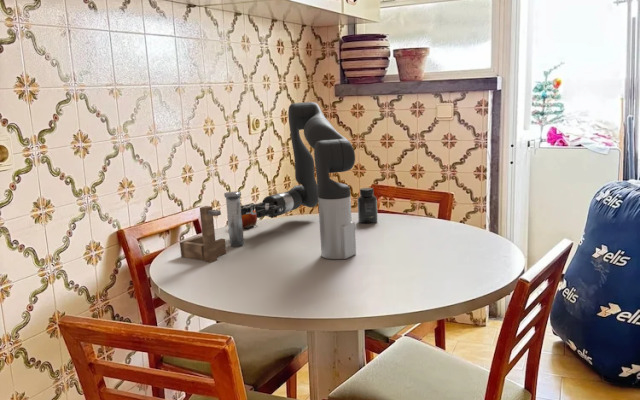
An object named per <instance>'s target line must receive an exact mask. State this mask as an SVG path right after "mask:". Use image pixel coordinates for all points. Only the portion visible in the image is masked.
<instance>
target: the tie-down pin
mask: <svg viewBox="0 0 640 400" xmlns="http://www.w3.org/2000/svg"><path fill="white" fill-rule="evenodd" d="M223 196H224V198H225V202H226V203H225V204H226V213H227V224H228V236H229V237H228V239H229V246H230V247H232V248H238V247H239V248H240V247H243V246H245V241H244V240H245V239H244V231H243V230H244V228H243V226H242V215H241V206H242V205H241V197H242V192H241V191H237V190H235V191H226V192H224V194H223Z"/></svg>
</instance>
